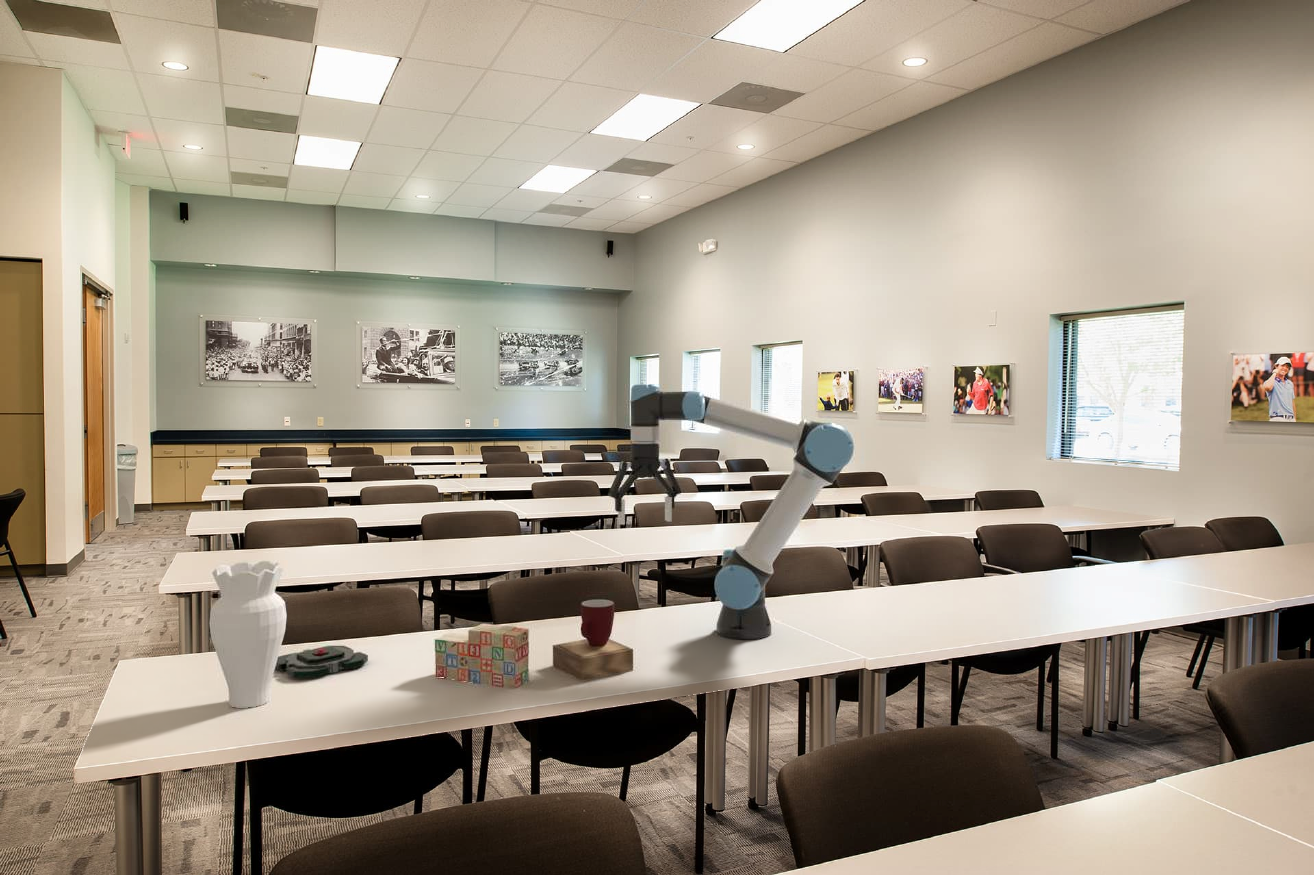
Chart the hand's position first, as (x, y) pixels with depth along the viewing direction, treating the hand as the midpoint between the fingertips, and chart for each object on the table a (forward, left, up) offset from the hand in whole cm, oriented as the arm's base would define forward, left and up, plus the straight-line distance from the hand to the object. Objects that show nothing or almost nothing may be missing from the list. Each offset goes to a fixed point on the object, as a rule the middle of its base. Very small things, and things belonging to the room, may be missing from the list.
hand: (645, 522), depth 224 cm
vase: (+95, +7, -32) cm, 100 cm away
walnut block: (+21, +16, -32) cm, 41 cm away
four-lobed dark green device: (+80, -13, -32) cm, 87 cm away
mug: (+20, +16, -27) cm, 37 cm away
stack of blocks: (+47, +13, -32) cm, 58 cm away
